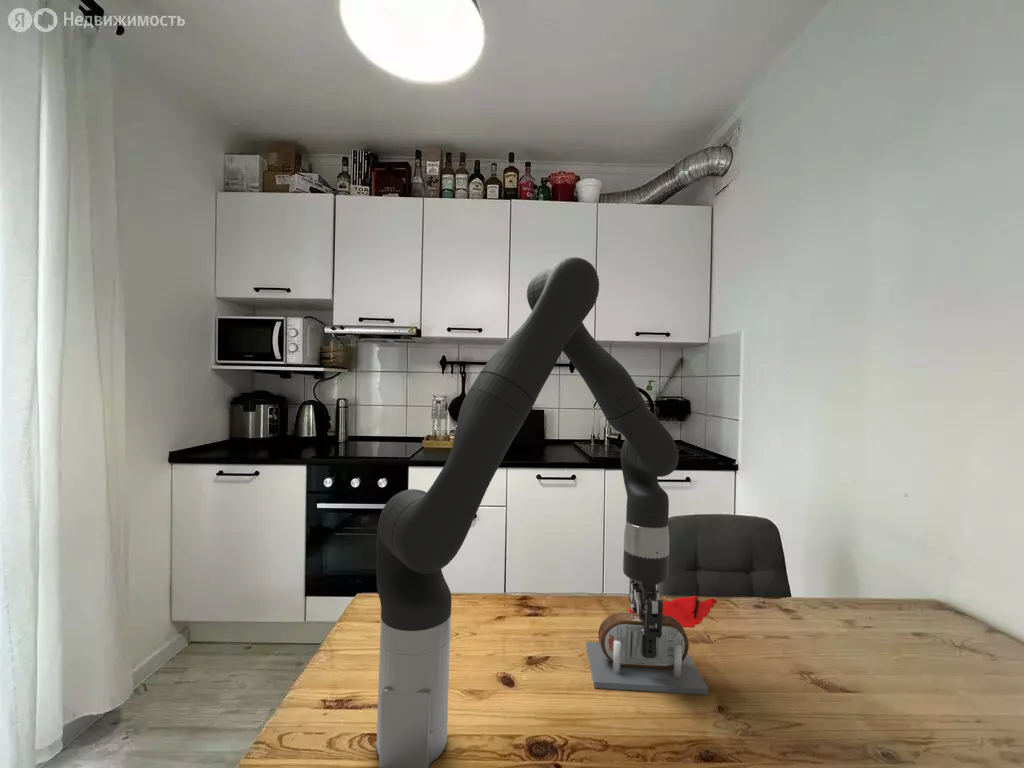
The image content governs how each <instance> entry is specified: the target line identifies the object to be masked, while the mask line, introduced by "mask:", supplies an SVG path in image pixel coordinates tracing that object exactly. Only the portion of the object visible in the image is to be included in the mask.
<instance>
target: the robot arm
mask: <svg viewBox="0 0 1024 768" xmlns="http://www.w3.org/2000/svg"><path fill="white" fill-rule="evenodd" d="M599 292H600V279H599V275H598V272H597V270H596V269H595V267H594V265H593V264H592V263H591V262H589V261H588V260H587V259H585V258H581V257H576V256H574V257H567V258H562V259H560V260H557V261H556V262H554V263H552V264H551V265H549V266H548V267H546V268H544V269H543V270H541V271H539V273H537V274H535V276H534V277H532V279H531V280H530V281H529V283H528V285H527V290H526V298H527V303H528V305H529V307H530V310H531V313H530V314H529V315H528V317H527V318H526V319H525V321H524V322H523V323H522V325H520V327H519V328H518V329H517V330H516V331H515V332H514V333H513V334H512V335H511V336H510V337H509V338H508V339H507V340H506V341H505V342H504V343H503V344H502V345H501V346H500V348H499V349H497V351H496V352H495V353H494V354H493V355H492V356H491V357H490V359H488V361H487V362H486V364H485V365H484V367H482V369H481V370H480V372H479V374H477V377H476V379H475V380H474V381H473V384H472V385H471V387H470V388H469V390H468V391H467V393H466V395H465V397H464V399H463V401H462V403H461V406H460V409H459V414H458V416H457V421H456V427H455V431H454V432H455V433H454V438H453V443H452V447H451V450H450V453H449V455H448V457H447V460H446V462H445V464H444V465H443V468H442V469H441V470H440V472H439V474H438V475H437V476H436V479H434V482H433V483H432V485H431V486H430V488H428V490H427V491H425V490H422V489H417V488H414V489H413V488H410V489H404V490H402V491H400V492H398V493H396V494H395V495H393V496H392V497H391V498H390V499H388V501H387V502H386V504H385V505H384V507H383V508H382V510H381V513H380V515H379V519H378V521H377V522H378V523H377V530H376V589H377V595H378V598H379V601H380V635H379V637H380V638H379V656H378V657H379V660H378V687H377V688H378V689H377V693H378V694H377V713H376V714H377V715H376V716H377V718H376V719H377V721H376V722H377V723H376V747H375V748H376V753H377V756H378V768H430V765H431V764H432V763H433V762H434V761H435V760H436V759H438V758H439V757H440V756H441V754H442V753H444V752H443V751H444V750H445V748H446V745H447V743H448V722H449V721H448V720H449V719H448V718H449V716H448V715H449V714H448V713H449V687H450V686H449V683H450V678H449V677H450V653H451V652H450V650H451V647H450V646H451V628H452V627H451V626H452V625H451V623H452V593H451V590H450V587H449V585H448V583H447V581H446V579H445V577H444V573H443V571H442V569H443V568H445V567H446V566H448V564H450V563H451V562H452V560H453V559H454V558H456V556H457V554H458V552H459V551H460V549H461V548H462V546H463V544H464V542H465V540H466V538H467V536H468V534H469V531H470V529H471V527H472V524H473V522H474V520H475V517H476V515H477V513H478V511H479V508H480V506H481V503H482V501H483V499H484V496H485V495H486V493H487V490H488V488H489V486H490V484H491V483H492V480H493V478H494V476H495V474H496V473H497V470H498V469H499V467H500V465H501V463H502V461H503V459H504V458H505V456H506V454H507V452H508V450H509V448H510V446H511V445H512V443H513V442H514V439H515V438H516V436H517V434H518V433H519V431H520V429H521V428H522V426H523V424H524V423H525V422H526V419H527V417H528V415H529V414H530V413H531V410H532V408H533V407H534V405H535V403H536V401H537V399H538V397H539V395H540V393H541V391H542V390H543V388H544V385H545V384H546V383H547V381H548V378H549V377H550V375H551V373H552V371H553V369H554V368H555V366H556V364H557V362H558V360H559V358H560V356H561V354H562V353H564V355H565V356H566V358H568V360H569V361H570V363H571V364H572V365H573V366H574V368H575V369H576V371H577V372H578V374H579V375H580V377H581V378H582V379H583V380H584V383H585V384H586V386H587V388H588V389H589V390H590V392H591V394H592V395H593V398H594V399H595V402H596V403H597V405H598V407H599V408H600V410H601V412H602V413H603V416H604V417H605V419H606V421H607V422H608V424H609V425H610V427H611V428H612V429H613V430H615V431H616V432H618V433H619V434H621V435H623V437H624V438H625V439H624V441H623V444H622V446H621V449H620V450H621V451H620V464H621V471H622V477H623V483H624V487H625V491H626V497H627V498H626V510H625V511H626V512H625V513H626V519H625V528H624V532H623V533H624V534H623V561H622V563H623V565H622V571H623V574H624V576H626V578H628V579H629V586H628V587H629V590H628V592H629V593H628V594H629V595H628V601H629V604H630V608H631V610H632V611H634V612H632V613H637V616H638V618H639V619H640V620H641V628H642V629H641V632H642V647H641V653H642V656H643V657H644V658H655V657H656V638H661V635H662V613H663V603H662V602H663V600H660V599H661V598H660V591H659V590H657V585H658V584H662V583H664V582H666V581H667V580H668V577H669V565H670V563H669V562H670V561H669V560H670V533H669V531H670V530H669V515H670V513H669V511H670V510H669V509H670V507H669V506H670V502H669V501H670V500H669V495H668V493H667V492H666V491H665V490H664V489H663V488H662V487H661V485H660V483H659V479H658V478H661V477H667V476H669V475H671V474H672V473H673V472H674V471H675V470H676V468H677V467H678V464H679V459H680V458H679V456H680V455H679V450H678V447H677V444H676V442H675V440H674V437H673V436H672V434H671V433H670V432H669V431H668V430H667V429H666V427H665V426H664V424H662V423H661V420H659V419H658V417H657V416H656V415H655V414H654V412H652V411H651V410H650V409H649V407H648V406H647V404H646V402H645V400H644V397H643V396H642V394H641V392H640V390H639V389H638V387H637V385H636V383H635V381H634V379H633V378H632V376H631V374H629V372H628V371H627V369H626V368H625V367H624V366H623V365H622V364H621V363H620V362H619V361H618V360H617V359H616V358H615V357H614V356H612V354H610V353H609V352H608V351H607V350H606V349H605V348H603V346H601V345H600V343H598V342H597V340H595V338H594V337H593V336H592V335H591V333H590V332H589V331H588V329H587V328H586V326H585V324H584V320H585V319H586V317H587V316H588V315H589V313H590V312H591V310H592V309H593V307H594V306H595V304H596V302H597V300H598V296H599ZM643 611H645V612H643ZM651 623H652V624H653V627H649V625H650V624H651Z"/></svg>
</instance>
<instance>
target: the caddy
mask: <svg viewBox="0 0 1024 768" xmlns="http://www.w3.org/2000/svg"><path fill="white" fill-rule="evenodd" d="M585 647H586V648H585V649H586V654H587V659H588V662H589V663H588V664H589V668H590V669H589V670H590V675H591V679H592V682H593V684H592V685H593V687H594V689H601V690H620V691H634V692H635V691H636V692H638V691H639V692H652V693H670V694H682V695H683V694H684V695H685V694H687V695H702V696H709V687H708V685H707V684H706V682H705V680H704V679H703V677H702V674H701V673H700V672H699V670H698V668H697V666H696V665H695V663H694V661H693V659H692V658H691V656H690V654H689V653H687V656H686V658H685V659H684V661H683V662H682V645H680V644H674V667H673V668H670V669H659V668H645V667H630V666H620V660H621V642H620V641H618V640H615V641H614V647H613V662H611V661H610V660H609V659H608V658H607V657H606V656H605V655H604V653H603V651H602V648H601V645H600V642H599V641H598V642H597V641H585Z"/></svg>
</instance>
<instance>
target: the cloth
mask: <svg viewBox="0 0 1024 768" xmlns="http://www.w3.org/2000/svg"><path fill="white" fill-rule="evenodd" d="M698 599H699V597H698V595H693V596H688V597H676V598H674V599H673V600H671V601H667V600H665V601H662V603H663V613H662V615H667V616H670V617H673V618H674V619H676V620H677V621H678V622H679V623H680V624H681V625H682V627H683V628H689V629H690V628H696V627H695V626H696V625H699V624H700V623H701V622H703V621H704V618H706V617H707V616H708V614H709V612H710V611H711V608H713V606H715V605H714V604H716V602H717V599H715V598H714V597H711V598H708V599H705V600H703V601H698ZM632 612H634V611H632V610H631V607H630V608H629V609H628V613H632ZM643 612H645V611H643Z"/></svg>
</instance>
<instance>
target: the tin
mask: <svg viewBox="0 0 1024 768" xmlns="http://www.w3.org/2000/svg"><path fill="white" fill-rule="evenodd" d="M649 627H653V624H652V623H651V624H650V625H649ZM641 629H642V628H641V620H640V619H639V618H638V616H637V613H630V612H627V611H626V612H624V611H621V612H619V611H618V612H615V613H612V614H610V615H608V616H606V618H605V619H604V620H603V621H602V622H601V623H600V626H599V629H598V634H597V635H598V642H599V643H600V645H601V648H602V651H603V653H604V655H605V656H606V657H607V658H608V659H609V660H610V661H611V662H613V647H614V641H615V640H618V641H620V642H621V660H620V666H630V667H645V668H659V669H670V668H673V667H674V644H680V645H682V662H683V661H684V659H685V658H686V656H687V653H688V652H689V648H690V647H689V645H690V643H689V638H688V636H687V633H686V632H685V627H682V625H681V624H680V623H679V622H678V621H677V620H676V619H674V618H673V617H670V616H667V615H662V635H661V638H656V657H655V658H644V657H643V656H642V653H641V647H642V632H641ZM688 654H689V653H688Z"/></svg>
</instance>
